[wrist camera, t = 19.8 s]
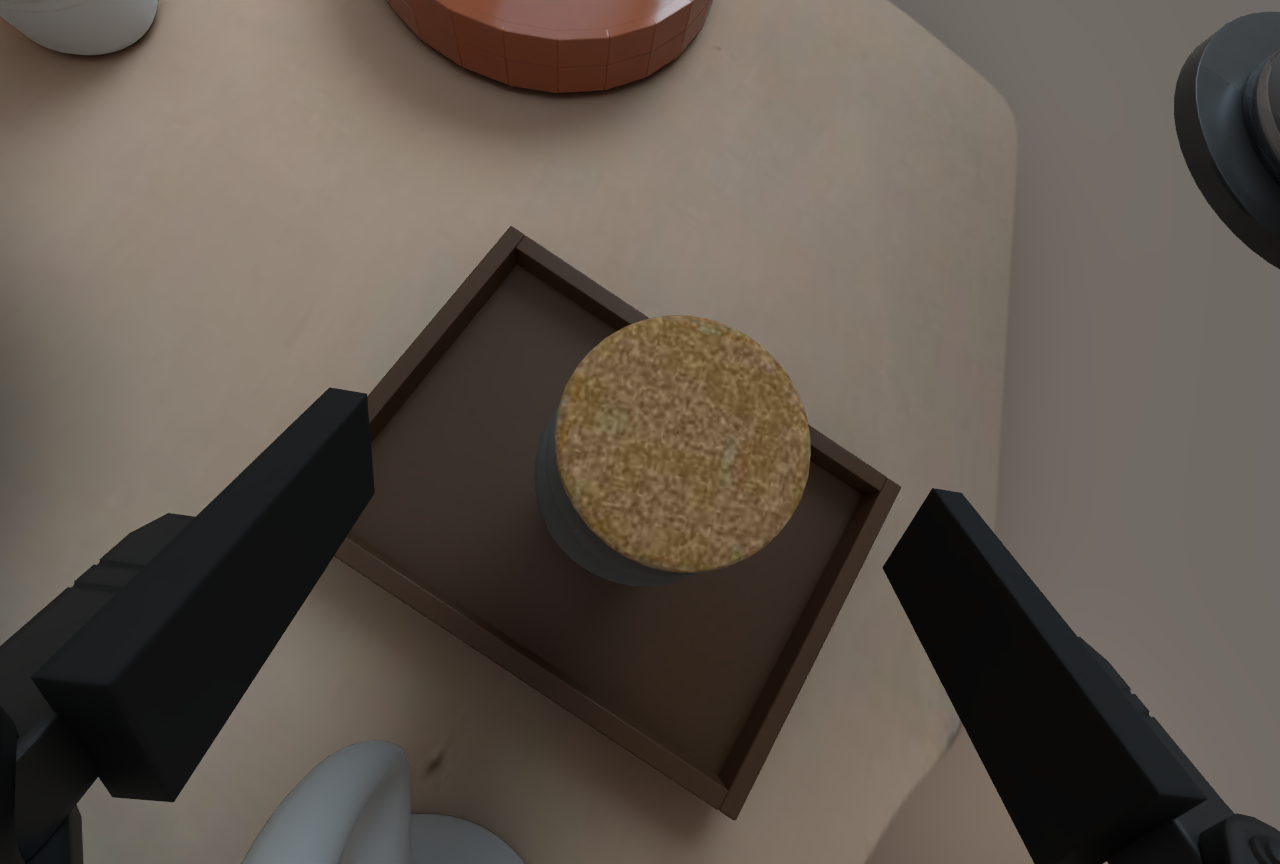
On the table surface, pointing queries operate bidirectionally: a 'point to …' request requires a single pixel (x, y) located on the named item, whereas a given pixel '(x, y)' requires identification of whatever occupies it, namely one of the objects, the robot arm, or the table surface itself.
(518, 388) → the tray
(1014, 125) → the table surface
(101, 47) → the cup
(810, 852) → the table surface
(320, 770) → the mug
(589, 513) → the bottle
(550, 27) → the terracotta bowl
